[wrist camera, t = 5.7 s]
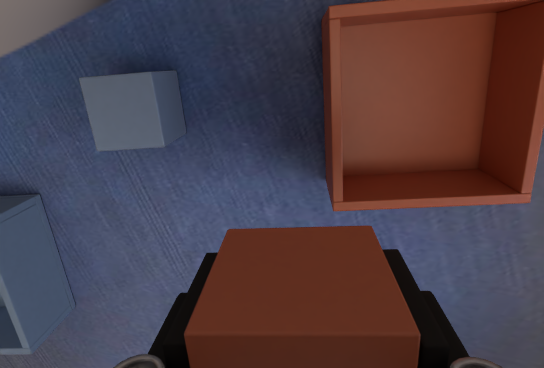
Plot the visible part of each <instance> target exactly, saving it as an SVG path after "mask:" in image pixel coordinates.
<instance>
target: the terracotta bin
mask: <svg viewBox="0 0 544 368" xmlns="http://www.w3.org/2000/svg"><path fill="white" fill-rule="evenodd" d="M321 23H322V57H323V92H324V127H325V162H326V183H327V187H328V191H329V195H330V200H331V204H332V208H333V211H352V210H375V209H399V208H422V207H445V206H468V205H492V204H515V203H530V199H531V192H532V187H533V182H534V176H535V171H536V165H537V160H538V154H539V149H540V143H541V138H542V132H543V127H544V0H384V1H374V2H364V3H354V4H344V5H334V6H329V7H328V9H327V11H326V13H325V15H324V16H323V18H322V20H321Z"/></svg>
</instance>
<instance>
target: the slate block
mask: <svg viewBox="0 0 544 368" xmlns="http://www.w3.org/2000/svg"><path fill="white" fill-rule="evenodd" d="M79 82H80V85H81V89H82V93H83V97H84V101H85V105H86V109H87V113H88V117H89V121H90V125H91V129H92V133H93V137H94V141H95V145H96V149H97V151H113V150H128V149H144V148H160V147H165V146H167V145H169V144H170V143H172V142H173V141H175V140H177V139H178V138H180V137H181V136H183V135H185V134H186V133H187V132H186V126H185V120H184V114H183V107H182V101H181V95H180V89H179V83H178V77H177V71H176V70H172V71H153V72H140V73H129V74H117V75H105V76H93V77H82V78H79Z"/></svg>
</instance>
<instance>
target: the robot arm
mask: <svg viewBox="0 0 544 368" xmlns="http://www.w3.org/2000/svg"><path fill="white" fill-rule="evenodd" d="M383 253H384V255H385V257H386V259H387V261H388V264H389V266H390V268H391V270H392V273H393V275H394V277H395V279H396V281H397V284H398V286H399V288H400V290H401V292H402V295H403V297H404V299H405V301H406V303H407V306H408V308H409V310H410V312H411V314H412V317H413V319H414V321H415V323H416V325H417V328H418V330H419V332H420V334H421V336H420V346H419V356H418V366H417V368H502V367H501V366H499V365H497V364H495V363H493V362H491V361H488V360H485V359H481V358H476V357H470V356H469V355H468V353H467V351H466V350H465V348H464V346H463V344H462V343H461V341H460V339H459V338H458V336H457V334H456V332H455V331H454V329H453V327H452V326H451V324H450V322H449V321H448V319H447V317H446V315H445V314H444V312H443V310H442V309H441V307H440V305H439V303H438V302H437V300H436V298H435V297H434V295H433V294H432V292H430V291H420V289H419V288H418V286H417V284H416V282H415V280H414V278H413V276H412V275H411V273H410V271H409V269H408V267H407V265H406V263H405V261H404V260H403V258H402V256H401V254H400V252H399V251H398V250H397V249H387V250H383ZM217 254H218V253H207V254H206V255H205V257H204V259H203V261H202V263H201V266H200V268H199V270H198V272H197V274H196V276H195V278H194V280H193V282H192V284H191V286H190V288H189V290H188V293H180V294H179V295H178V296H177V298H176V300H175V302H174V304H173V306H172V308H171V310H170V312H169V314H168V316H167V318H166V319H165V321H164V323H163V325H162V327H161V329H160V331H159V333H158V335H157V337H156V339H155V341H154V343H153V345H152V346H151V348H150V350H149V352H148V354H141V355H136V356H133V357H130V358H128V359H126V360H124V361H122V362H120V363H119V364H117V365H116V366H115V367H114V368H190V365H189V359H188V354H187V348H186V343H185V338H184V332H185V330H186V327H187V325H188V323H189V320H190V318H191V316H192V313H193V311H194V308H195V306H196V304H197V301H198V299H199V297H200V294H201V292H202V290H203V287H204V285H205V282H206V280H207V278H208V275H209V273H210V271H211V268H212V266H213V263H214V261H215V259H216V256H217Z"/></svg>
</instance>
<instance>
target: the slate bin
mask: <svg viewBox="0 0 544 368" xmlns="http://www.w3.org/2000/svg"><path fill="white" fill-rule="evenodd" d="M75 307H76V305H75V302H74V299H73V296H72V293H71V290H70V286H69V283H68V280H67V277H66V274H65V271H64V268H63V265H62V262H61V259H60V256H59V252H58V249H57V246H56V243H55V240H54V237H53V234H52V231H51V228H50V225H49V222H48V219H47V215H46V212H45V209H44V206H43V203H42V200H41V197H40V194H34V195H15V196H0V354H33V352H34V351H35V350H36V349H37V348H38V347H39V346H40V345H41V344H42V343H43V342H44V340H45V339H46V338H47V337H48V336H49V335H50V334H51V333H52V332H53V331H54V330H55V328H56V327H57V326H58V325H59V324H60V323H61V322H62V321H63V320H64V319H65V318H66V316H67V315H68V314H69V313H70V312H71V311H72V310H73V309H74V308H75Z"/></svg>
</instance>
